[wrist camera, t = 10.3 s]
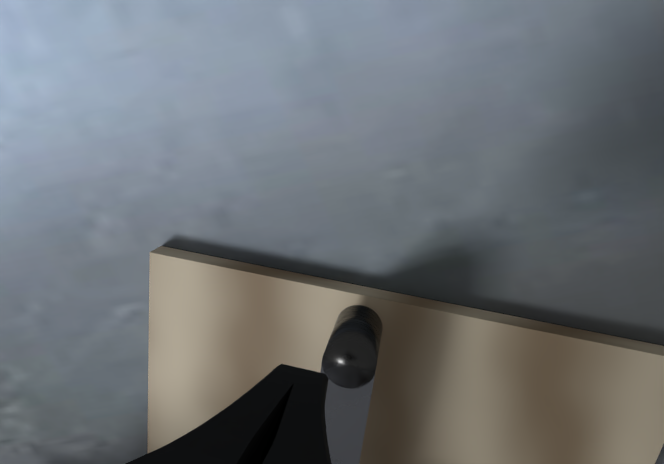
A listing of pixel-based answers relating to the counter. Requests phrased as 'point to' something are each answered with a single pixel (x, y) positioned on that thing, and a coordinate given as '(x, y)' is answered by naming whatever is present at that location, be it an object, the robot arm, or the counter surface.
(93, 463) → the counter surface
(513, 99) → the counter surface
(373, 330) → the grey lever handle
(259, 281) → the base
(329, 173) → the counter surface
